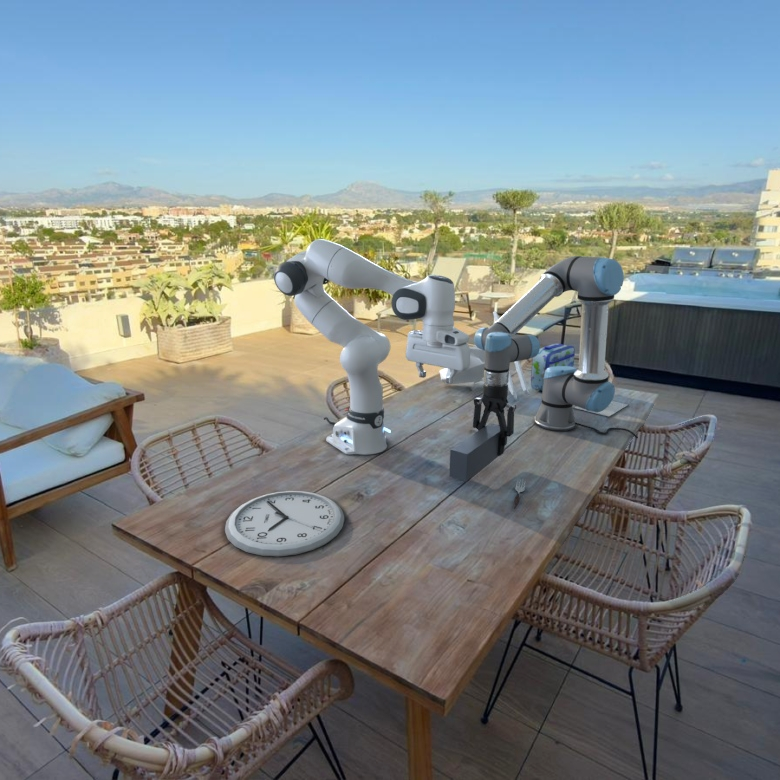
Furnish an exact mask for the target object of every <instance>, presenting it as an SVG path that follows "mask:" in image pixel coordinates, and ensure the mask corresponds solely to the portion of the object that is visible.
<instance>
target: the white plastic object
mask: <svg viewBox="0 0 780 780" xmlns="http://www.w3.org/2000/svg"><path fill="white" fill-rule="evenodd" d="M492 315H493V319H494V321H495V322H496V321H497V320H498V319H500V318H501V317H500V315H499V314H498V312H497V311H496V310H495V311H492ZM469 348H470V366H469V367H468V369H466V370H464V371H459V370H458V372H457V373H456V375H455V376H454V380H453V383H452V384H449V383H446V377H448V376H450V374H451V373H452V372H450V369H449V368H442V369H440V370H439V371H438V372H439V376H440V381H442V383H443V384H444V385H445V386H449V385H458V384H467V383H468V384H469V383H473V384H477V383H480V382H482V381H484V364H485V351H484V350H482V349H479V348H478V347H477V346H476V345H473V346H469ZM513 363H514V366H515V369H516V372H517V376H518V380H519V382H520V385H521V389H522V391H523V393H524V395H525V396H526V397H528V396H531V395H530V390H529V388H528V387H529V386H528V384H527V381H526V378H525V375H524V371H523V369H522V368H523V367H522V366H521V361H515V362H513ZM507 385H508V391H509V393H510V394H511V395H512V397H513V398H514V399H515V400H517V392H516V391H517V390H516V388H515V385H514V381H513V378H512V375H511V371H510V370H509V380H508V383H507Z"/></svg>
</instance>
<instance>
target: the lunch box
mask: <svg viewBox="0 0 780 780" xmlns="http://www.w3.org/2000/svg"><path fill="white" fill-rule="evenodd" d="M575 352H576V351H575V346H573V345H568V344H562V343H553V344H550V345H547V346H546V345H545V346H544V347H540V351H539V353H538V355H537V356H535V357H533V358H532V362H531V371H530V372H531V374H530V387H531V389H533V390H539V391H543V380H544V379H543V378H544V375H545V370H546V369H547V368H549V367H555V366H570V367H574V363H575Z"/></svg>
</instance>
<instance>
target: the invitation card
mask: <svg viewBox="0 0 780 780" xmlns="http://www.w3.org/2000/svg"><path fill="white" fill-rule="evenodd" d="M628 406H629V404H627V403H623V402H618V401H614V400H612V401H611V403H610V404H609V406H608V407H607V408H606V409H605V410H603V411H601V412H593V411H587V410H586V409H583V408H580V407H577V406H574V407H573V409H575V410H581V411H584V412H587V413H593V414H596V415H600V416H604V417H608V418H609V417H611V416H613V415H614V414H616V413H617V412H619V411H621V410H623V409H624V408H626V407H628Z"/></svg>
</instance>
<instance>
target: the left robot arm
mask: <svg viewBox="0 0 780 780" xmlns="http://www.w3.org/2000/svg"><path fill="white" fill-rule="evenodd" d="M306 248H307V249H306V250H303V251H301V252H299V253H297V254H295V255H294V256H292V257H290V258H289V259H287V260H286V261H284V262H281V263H280V264H279V265H278V266H277V267H276V269H275V270H274V272H273V280H274V284H275V286H276V288H277V289H278V291H279V292H280V293H282V294H284V295H285V296H288V297H292V296H294V299H293V301H294V305H295V307H296V309H298V311H299V313H301V315H302V316H303V317H304V318H305V319H306V320H307V321H308V322H309V323H310V324H311V325H312V326H313V327H314V328H315V329H316V330H317V331H318V332H319V333H320V334H321V335H322V336H324V338H326V339H327V340H328V341H330V342H331V343H333V344H337V345H339V346H341V347H343V349H342V350H341V352H340V354H339V363H340V365H341V367H342V369H343V371H345V373H346V376H347V380H348V384H349V406H348V407H344V412H347V413H346V416H344V417H343V418H341V419H338V421H337V422H334V421H332V420H331V421H330V419H329V417H327V416H325V417H323V420H324V421H325V420H326V422H327V423H328V424H330V425H333V428H332V433H331V434H329V435H328V436H327V437H326V438H325V441H326V442H327V443H328V444H330V446H333V447H334V448H336V449H337V450H339V451H340V452H342V453H343V454H345V455H347V456H348V455H350V456H352V455H363V456H365V455H366V456H367V455H376V454H379V453H382V452H384V451H386V449H387V447H388V445H387V444H388V443H387V436H386V434H385V432H387V433H389V434H391V433H392V432H391V429H389V428H387V427H385V423H384V422H385V421H384V419H385V408H384V405H383V403H384V401H383V400H384V386H383V384H382V382H381V380H380V376H379V365H380V364H382V363H383V362H384V361H386V359H387V357H388V356H389V354H390V352H391V348H392V347H391V341H390V339H389V337H387V336H386V335H385V334H384V333H382V332H379V331H376V330H374V329H373V328H372V327H370V326H368V325H367V324H365V323H363V322H362V321H361V320H359V319H357V318H356V317H354V316H353V315H352V314H351V313H349V312H348V311H347V310H346V309H345V308H344V307H343V306H341V305H340V304H339V303H338V301H336V300H335V299H334V298H333V297H332V296H330V295H329V293H327V291H326V290H325V288H324V286H325V285H327V284H328V283H329V282H331V283H333V284H335V285H337V286H339V287H341V288H346V289H350V290H359V289H371V290H372V289H374V290H379V291H382V292H385V293H387V294H389V295H391V296H392V297H391V301H390V302H391V303H390V305H391V309H392V312H393V313H394V315H395V316H396V317H397V318H398V319H400V320H403V321H412V320H413V321H414V320H422V330H416V329H412V330H410V331H409V332H408V333H407V339H406V341H407V343H406V347H405V348H406V349H405V358H406V360H407V361H409V362H412V363H413V362H414V363H415V367H416V369H417V371H418V377H419V378H424V379H425V378H426V377H427V371H426V370H424V367H423V366H424V365H428V366H434V367H439V368H442V369H444V368H449V369H450V372H452V373H451V374H450V376H448V377H446V383H449V384H450V385H453V384H452V383H453V380H454V376H455V375H456V373H457V372H458V370H459V371H464V370H466V369H468V367H469V366H470V348H469V347H470V345H469V344H468V342H469V341H470V336H469V334H467V333H465V332H464V331H461V330H460V329H458V328H456V327H455V321H454V312H455V309H456V290H455V289H456V288H455V283H454V281H453V280H452V279H451V278H449V277H447V276H443V275H438V274H429V275H427V276H426V277H425V278H424V279H422V280H420V281H413V280H410V279H408V278H406V277H403V276H401V275H399V274H397V273H395V272H393V271H391V270H388V269H386V268H383V267H382V266H380V265H378V264H376V263H374V262H372V261H370V260H369V259H367V258H365V257H363V256H362V255H360V254H358V253H357V252H354V251H353V250H351V249H350V248H347V247H345V246H343V245H341V244H339V243H336V242H333V241H330V240H328V239H323V238H317V239H315V240H313V241H312V242H310V243H309V245H308V246H307V247H306Z"/></svg>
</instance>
